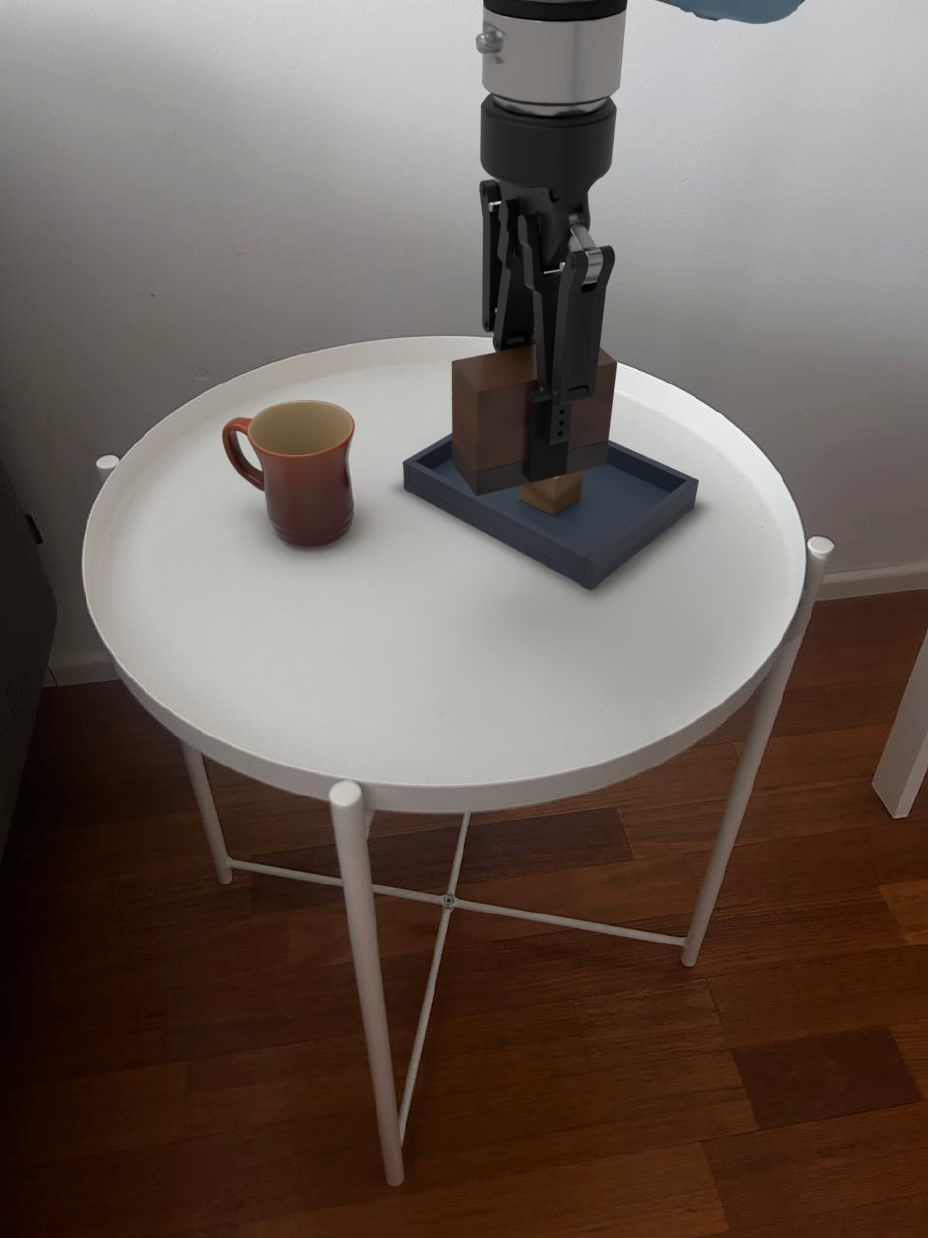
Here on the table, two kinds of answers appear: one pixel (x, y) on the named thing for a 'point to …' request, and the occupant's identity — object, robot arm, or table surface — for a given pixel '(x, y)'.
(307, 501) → the mug
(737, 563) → the table surface
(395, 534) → the table surface
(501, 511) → the tray
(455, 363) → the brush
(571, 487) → the wooden cube
